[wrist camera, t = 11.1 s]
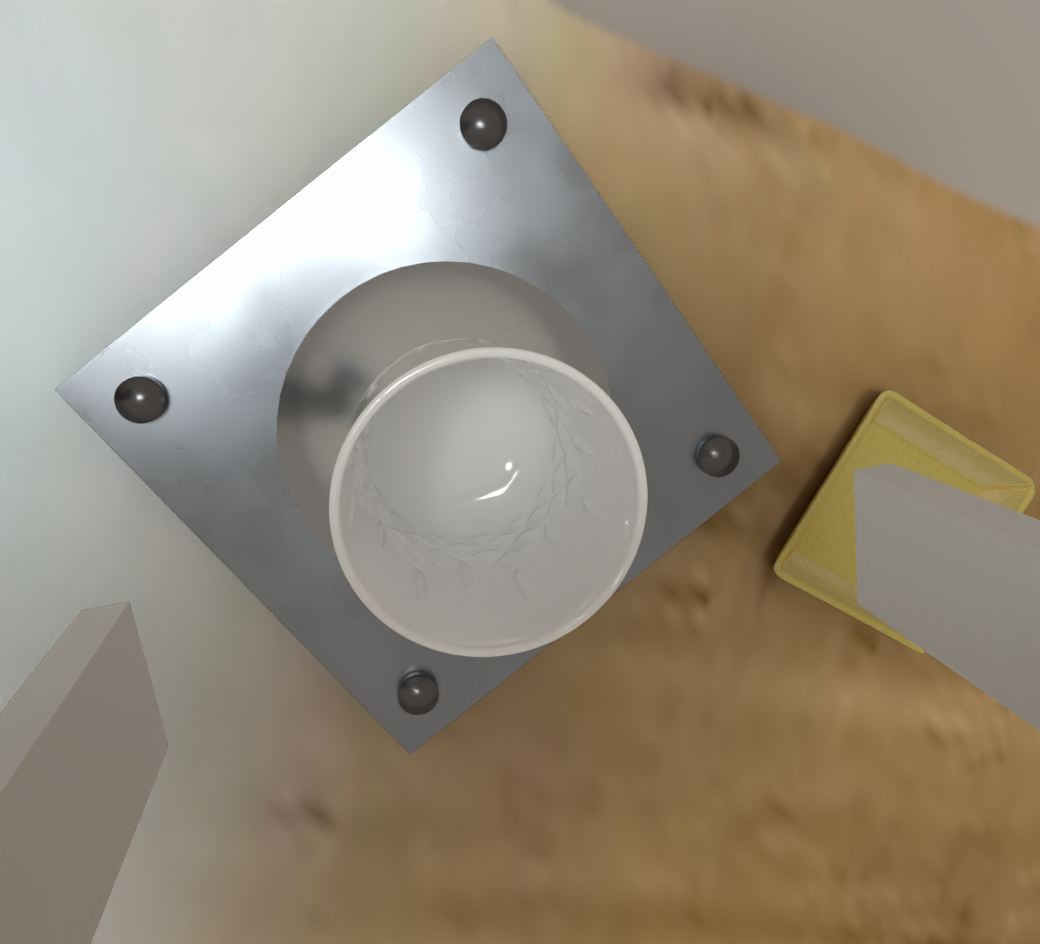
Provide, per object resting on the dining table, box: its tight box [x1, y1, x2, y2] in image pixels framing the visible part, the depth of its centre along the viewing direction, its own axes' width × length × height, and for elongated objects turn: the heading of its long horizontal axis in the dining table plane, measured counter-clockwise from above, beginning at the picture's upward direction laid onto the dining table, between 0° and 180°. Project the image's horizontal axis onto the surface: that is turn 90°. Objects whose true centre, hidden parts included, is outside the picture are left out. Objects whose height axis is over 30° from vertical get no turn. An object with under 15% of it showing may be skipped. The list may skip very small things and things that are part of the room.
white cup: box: [329, 338, 648, 657], centre depth 26 cm, size 8×8×10 cm
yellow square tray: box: [773, 390, 1035, 654], centre depth 36 cm, size 9×9×2 cm
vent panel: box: [55, 38, 781, 755], centre depth 32 cm, size 19×19×2 cm
